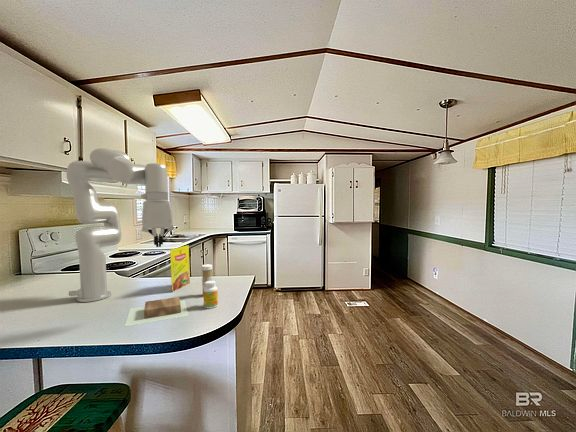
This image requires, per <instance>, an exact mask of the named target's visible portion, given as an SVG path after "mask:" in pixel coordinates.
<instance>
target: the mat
mask: <svg viewBox="0 0 576 432" xmlns="http://www.w3.org/2000/svg"><path fill="white" fill-rule="evenodd" d="M180 304H181V313H177V314H171V315H165V316H159V317H153V318H147V319H144V308H145V305H144V306H138V307H132V308H129V312H128V315H127V317H126V321H125V324H124V327H131V326H136V325H137V326H138V325H141V324H148V323H154V322H159V321H164V320H170V319H171V320H172V319H176V318H177V319H178V318H183V317H189V311H188V308H187V304H186V300H185V299H184V300H180Z"/></svg>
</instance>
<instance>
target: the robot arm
mask: <svg viewBox="0 0 576 432" xmlns="http://www.w3.org/2000/svg"><path fill="white" fill-rule="evenodd" d="M89 160H90V161H89ZM89 160H88V161H87V160H76V161H71V163H69V164H68V166H67V169H66V180H67V182H68V185H69V187H70V189H71V192H72V196H73V201H74V208H75V215H76V219H77V221H78V222H79V223H80V224H84V225H85V224H86V225H87V224H88V225H89V224H91V225H92V224H103V225H96V226H95V225H93V226H85V227H81V228H79V229H78V230H77V231H76V233H75V235H74V236H75V237H74V239H75V243H76V247H77V251H78V260H79V261H78V262H79V263H78V264H79V281H80V283H79V284H80V289H79V288H78V290H70V291H68V296H70V297H75V296H77V297H76V301H77V302H79V303H88V302H89V303H90V302H97V301H100V300H104V299H107V298H109V297H110V296H111V295H112V292H111V291H110V290H108V284H107V282H108V281H107V279H108V278H107V264H106V263H107V259H106V255H105V253H104V252H103V251H102V250H101V249H100V248H103V247H104V248H105V247H110V246H111V247H112V246H115V245H118V244H119V243H121V240H122V228H121V222H120V215H119V211H118V208H117V206H115V205H114V204H113V203H111V202H100V201H99V200H98V193H97V190H96V189H95V188H94V187H93V185H92V184H90V183H89V182H97V183H112V182H114V181H117V182H119V183H122V184H124V185H125V184H127V185H138V186H139V185H140V186H141V185H142V186H144V187H145V188H144V189H145V193H143V194H141V195H140V198H141V199H144V200H145V201H144V200H143V203H142V212H141V225H142V227H141V231H142V232H144V233H149V234H150V235H152V236H153V243H154V244H153V245H155V246H156V248H161V247H162V245H164V235H165V234H167V232H170V231H174V226H173V224H174V221H173V220H174V219H173V209H172V202H171V201H170V200H169V189H168V188H169V186H168V184H169V183H168V182H169V181H168V168H167V166H166V165H165V164H163V163H158V162H157V163H156V162H155V163H153V162H151V163H146V164H145V165H144V164H140V163H139V164H138V163H132V162H131V159H130V156H129V155H128V154H127V153H126V152H124V151H120V150H116V149H108V148H102V147H101V148H99V147H98V148H96V149H94V150H92V151H91V152H90V154H89ZM157 229H160V231H159V234H157Z"/></svg>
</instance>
